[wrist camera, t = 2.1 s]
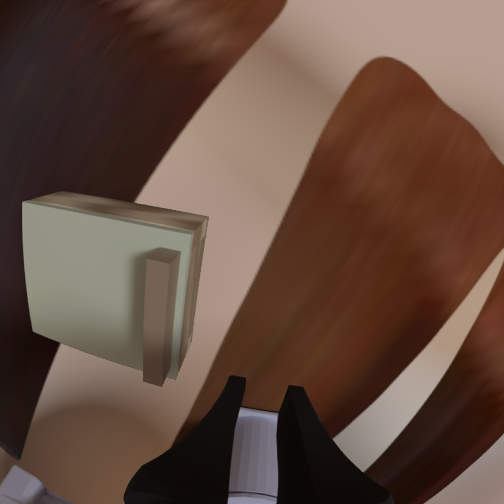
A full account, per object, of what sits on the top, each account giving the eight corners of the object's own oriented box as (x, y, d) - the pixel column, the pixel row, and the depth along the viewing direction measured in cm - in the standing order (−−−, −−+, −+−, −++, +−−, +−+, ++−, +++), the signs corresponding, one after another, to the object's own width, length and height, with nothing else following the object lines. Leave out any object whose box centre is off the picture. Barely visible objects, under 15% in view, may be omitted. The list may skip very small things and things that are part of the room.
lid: (193, 232, 17) (180, 245, 15) (177, 374, 20) (167, 399, 18) (28, 200, 17) (2, 207, 15) (37, 327, 20) (18, 344, 18)
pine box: (208, 216, 21) (194, 230, 17) (191, 341, 24) (178, 371, 20) (62, 191, 21) (30, 199, 17) (64, 304, 24) (39, 325, 20)
